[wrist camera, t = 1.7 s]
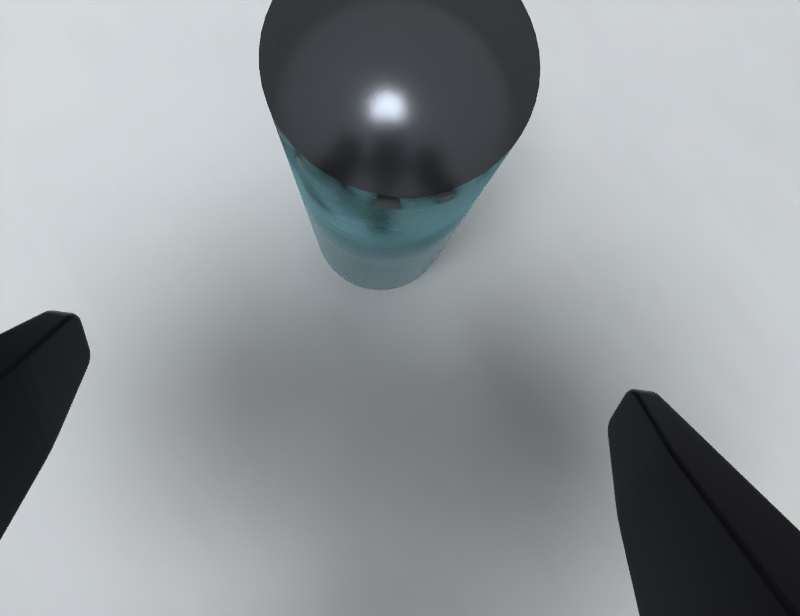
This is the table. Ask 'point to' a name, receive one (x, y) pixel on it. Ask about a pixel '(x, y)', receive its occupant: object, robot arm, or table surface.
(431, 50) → the ball
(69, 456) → the table surface
